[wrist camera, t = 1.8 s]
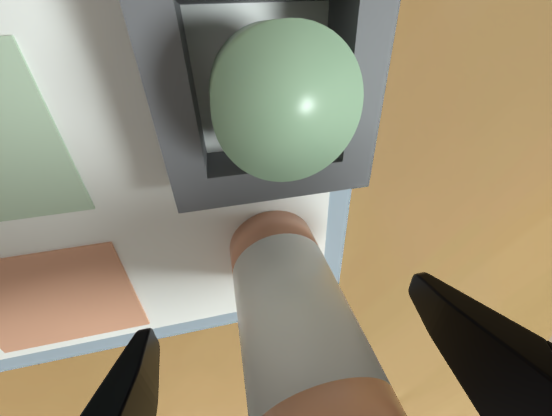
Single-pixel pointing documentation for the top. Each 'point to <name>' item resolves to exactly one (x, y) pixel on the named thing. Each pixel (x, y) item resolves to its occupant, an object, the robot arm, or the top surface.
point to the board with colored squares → (145, 166)
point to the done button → (285, 98)
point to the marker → (300, 328)
